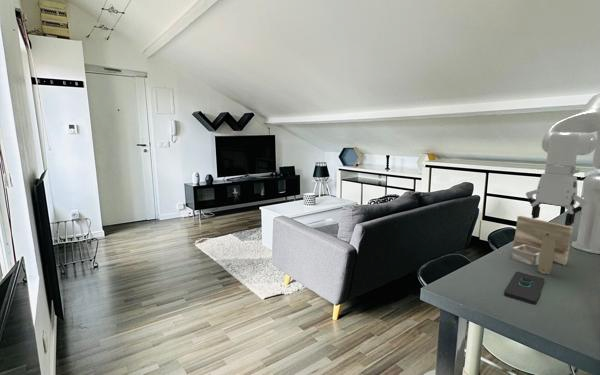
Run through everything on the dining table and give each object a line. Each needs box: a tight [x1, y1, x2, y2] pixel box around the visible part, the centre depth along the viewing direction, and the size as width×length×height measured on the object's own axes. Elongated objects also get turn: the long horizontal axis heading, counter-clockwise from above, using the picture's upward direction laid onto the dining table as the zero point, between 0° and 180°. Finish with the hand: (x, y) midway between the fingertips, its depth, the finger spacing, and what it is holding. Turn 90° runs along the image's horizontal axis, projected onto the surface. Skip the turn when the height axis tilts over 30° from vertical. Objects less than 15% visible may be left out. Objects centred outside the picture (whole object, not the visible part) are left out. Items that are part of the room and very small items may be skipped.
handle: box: [537, 228, 562, 275], centre depth 113 cm, size 5×6×15 cm
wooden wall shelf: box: [509, 215, 574, 267], centre depth 126 cm, size 13×18×14 cm
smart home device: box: [503, 271, 546, 305], centre depth 103 cm, size 8×2×20 cm
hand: (551, 221), depth 111 cm, fingers open, 9 cm apart
